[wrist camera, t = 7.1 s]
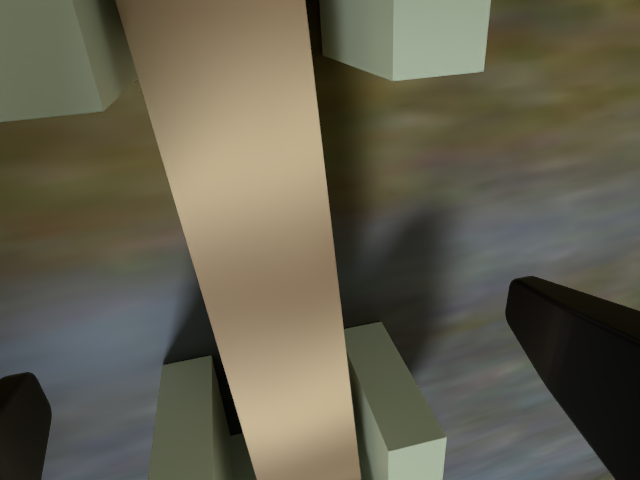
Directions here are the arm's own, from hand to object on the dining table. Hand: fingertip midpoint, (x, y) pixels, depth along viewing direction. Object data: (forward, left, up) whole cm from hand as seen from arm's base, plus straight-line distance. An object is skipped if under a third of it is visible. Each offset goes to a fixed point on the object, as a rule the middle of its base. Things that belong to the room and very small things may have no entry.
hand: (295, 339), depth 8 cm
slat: (0, 0, -6) cm, 6 cm away
